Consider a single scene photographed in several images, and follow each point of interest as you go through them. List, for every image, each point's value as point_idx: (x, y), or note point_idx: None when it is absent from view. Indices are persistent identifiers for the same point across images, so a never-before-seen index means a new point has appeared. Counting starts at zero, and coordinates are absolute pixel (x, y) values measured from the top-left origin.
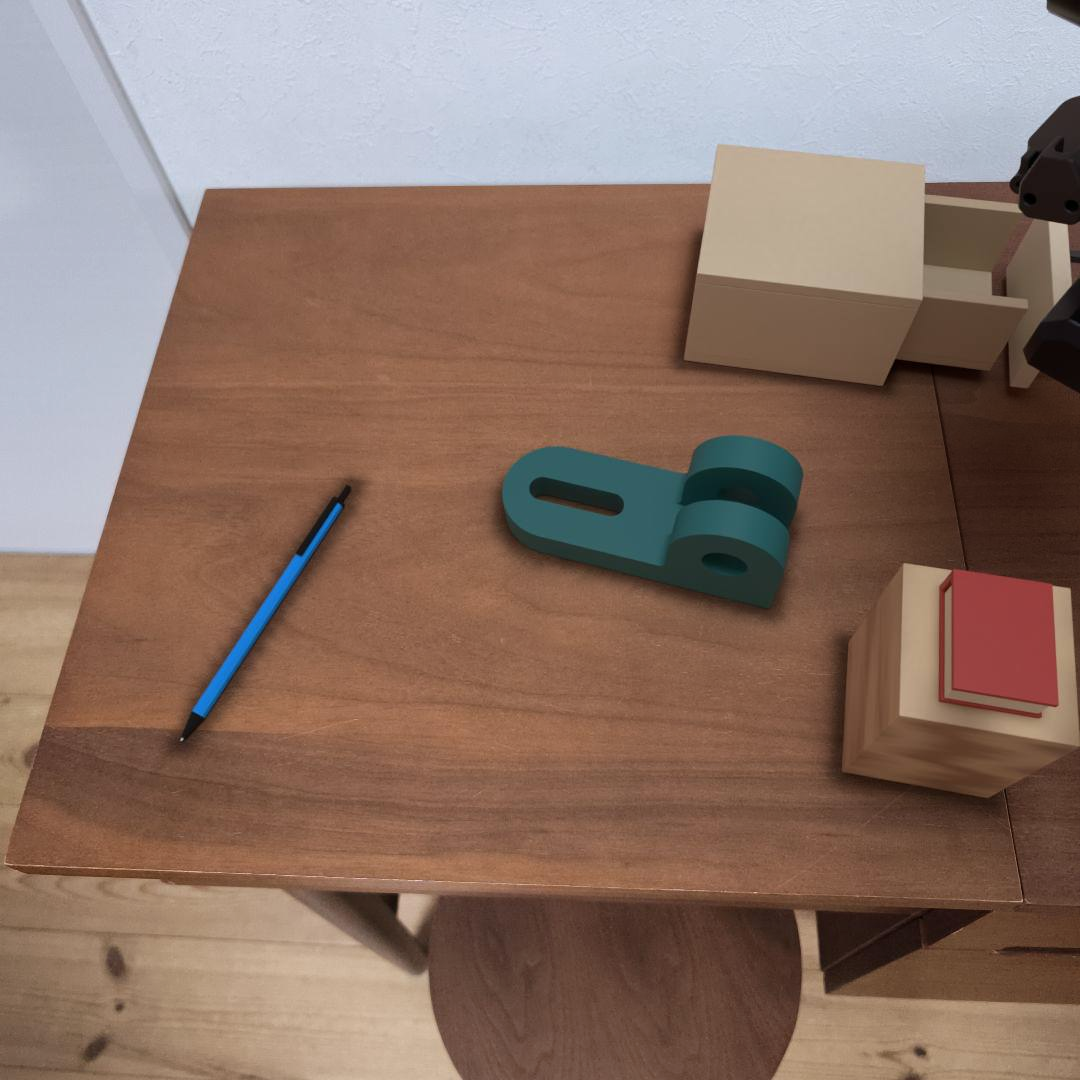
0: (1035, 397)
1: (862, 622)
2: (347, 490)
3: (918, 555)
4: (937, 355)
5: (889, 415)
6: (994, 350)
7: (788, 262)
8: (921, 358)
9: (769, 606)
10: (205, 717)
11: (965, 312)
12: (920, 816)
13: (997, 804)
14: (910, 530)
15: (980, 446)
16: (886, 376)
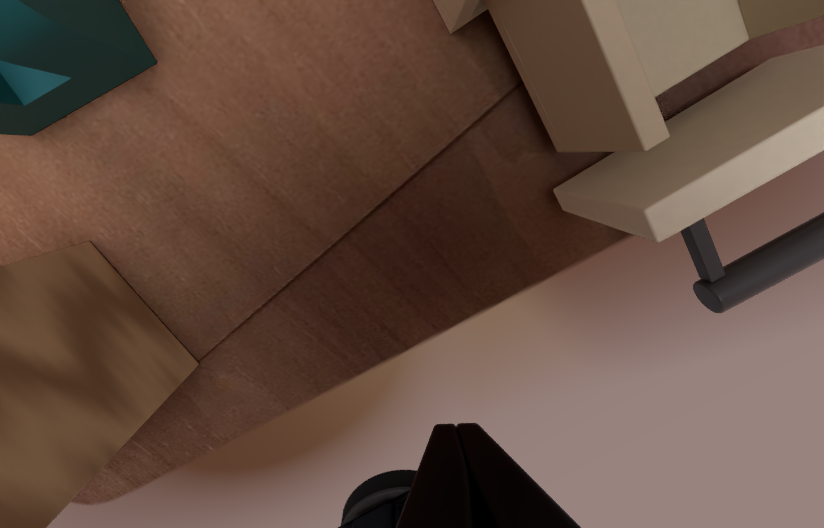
0: (565, 221)
1: (26, 259)
2: None
3: (252, 238)
4: (526, 69)
5: (411, 77)
6: (573, 141)
7: None
8: (511, 50)
9: (21, 134)
10: None
11: (579, 46)
12: None
13: None
14: (274, 210)
15: (448, 208)
16: (452, 25)
